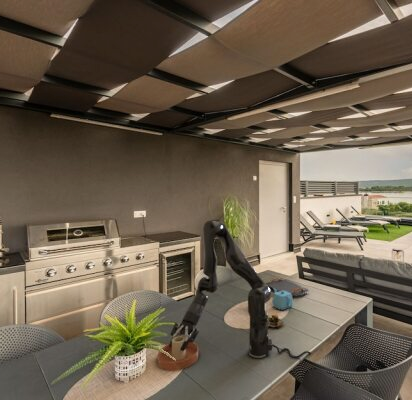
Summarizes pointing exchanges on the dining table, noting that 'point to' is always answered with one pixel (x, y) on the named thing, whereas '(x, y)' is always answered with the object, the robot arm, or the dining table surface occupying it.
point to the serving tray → (287, 287)
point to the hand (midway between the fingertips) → (176, 348)
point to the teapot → (282, 299)
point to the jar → (178, 348)
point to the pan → (171, 364)
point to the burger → (275, 321)
